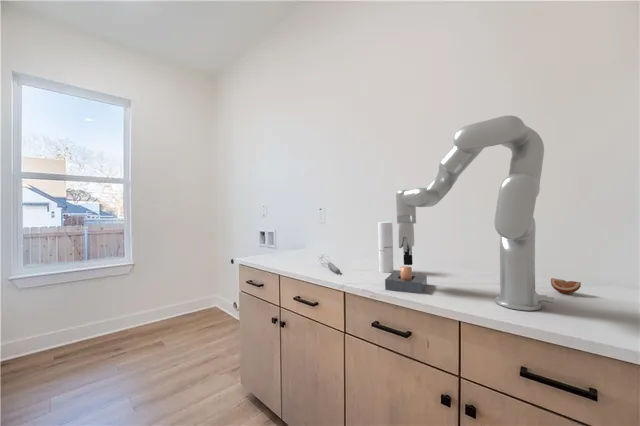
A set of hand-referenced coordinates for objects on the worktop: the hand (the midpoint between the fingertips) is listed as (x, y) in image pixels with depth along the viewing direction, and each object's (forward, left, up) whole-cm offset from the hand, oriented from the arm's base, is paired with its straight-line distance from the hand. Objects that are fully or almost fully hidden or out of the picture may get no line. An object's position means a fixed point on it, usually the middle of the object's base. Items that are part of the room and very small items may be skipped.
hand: (408, 264), depth 120 cm
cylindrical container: (+16, -25, -9) cm, 31 cm away
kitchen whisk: (+46, -22, -10) cm, 52 cm away
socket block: (+1, +1, -9) cm, 9 cm away
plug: (+1, +1, -9) cm, 9 cm away
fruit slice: (-53, -11, -9) cm, 55 cm away
